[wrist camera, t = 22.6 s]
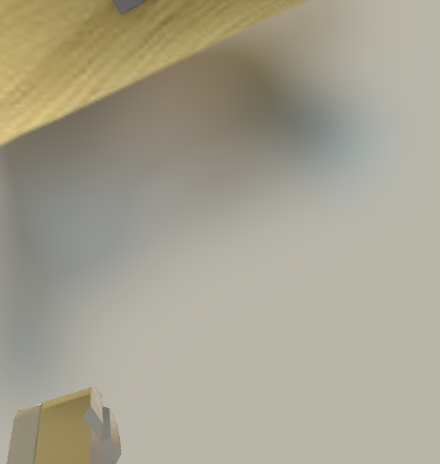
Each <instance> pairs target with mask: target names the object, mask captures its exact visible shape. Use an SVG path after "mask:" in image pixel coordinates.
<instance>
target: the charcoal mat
mask: <svg viewBox="0 0 440 464" xmlns="http://www.w3.org/2000/svg"><path fill="white" fill-rule="evenodd" d="M113 1H114V3H115V5H116V6H117V8H118V10H119V12H120V13H121V14H123V13H124V12H126V11H128V10H129V9H131V8H133V7H134V6H136V5H138V4H139V3H141V2H143V1H144V0H113Z"/></svg>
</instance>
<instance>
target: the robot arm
mask: <svg viewBox="0 0 440 464" xmlns="http://www.w3.org/2000/svg"><path fill="white" fill-rule="evenodd" d="M120 446H121V445H120V437H119V432H118V428H117V424H116V422H115V419H114V416H113V414H112V413H111V411H110V409H109V408H106V407H103V406H102V395H101V394H100V392H99V391H98V389H97V388H96V387H92V388H89V389H85V390H82V391H79V392H76V393H72V394H69V395H66V396H63V397H60V398H56V399H53V400H50V401H47V402H44V403H41V404H38V405H35V406H32V407H29V408H26V409H23V410H19V411H18V413H17V414H16V416H15V418H14V420H13V426H12V432H11V438H10V444H9V450H8V456H7V462H6V464H116V463H117V461H118V459H119V457H120V455H121V447H120Z"/></svg>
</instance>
